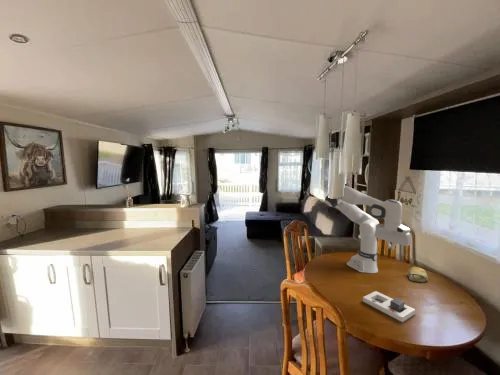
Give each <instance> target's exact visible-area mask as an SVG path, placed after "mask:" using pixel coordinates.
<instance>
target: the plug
mask: <svg viewBox="0 0 500 375" xmlns="http://www.w3.org/2000/svg"><path fill="white" fill-rule="evenodd" d="M392 299H393V300H391V302H390V308H391V309H393V310H395V311H397V312H399V313H401V312H402V311H404V304H405V303H406V302H405V301H403V300H402V299H399V298H397V297H395V298H392ZM405 305H406V304H405Z"/></svg>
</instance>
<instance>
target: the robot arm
mask: <svg viewBox="0 0 500 375" xmlns="http://www.w3.org/2000/svg"><path fill="white" fill-rule="evenodd" d="M328 195H329V194H327V195H326V196H325V198H324V202H325V204H326V205H327V206H328V207H330V208H337V209H338V210H339V211H340V213H341V214H343V215H345V216H346V217H347V218H348V219H349V220H350V221H351V222H353V223H355V224H357V225H359V228H358V230H359V234H360V249H358V250H357V253H356V254H354V255H352V256H351V257H350V260H349V261H347V263H346V266H349V267H350V268H352V269H354V270H356V271H358V272H359V273H367V274H376V273H378V272H379V268H378V263H377V259H378V251H377V250H378V239H379V240H383V241H386V244H387V248H388V249H390V250H395V246H396V245H397V244H398V245H401V246H405V247H409V246H411V244H412V234H411V233H410V232H411V228H409V227H408V226H406V225H404V224H402V222H403V221H402V216H403V205H402V202H401V201H399V200H397V199H391V198H388V199H387V200H385V201H383V200H380V199H378V198H375V197H373V196H370V195H369V194H368V195H367V194H366V193H363V192H361V191H359V190H357V189H355V188H352V187H351V186H350V185H349V184H348V183H346V184H345V188H344V196H343V198H342V199H330V198H328ZM358 205H366V206H368V207H369V213H370V214H368V213H367V212H365V211H363V210H362V209H361V208H359V207H358ZM378 219H384V224H381V223H380V222H379V220H378ZM391 244H392V245H391Z"/></svg>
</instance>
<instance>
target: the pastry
mask: <svg viewBox="0 0 500 375" xmlns="http://www.w3.org/2000/svg"><path fill="white" fill-rule="evenodd" d="M407 275H408V279H409V281H412V282H416V283H427V282H428V280H429V277H428V274H427V271H426V270H425V269H424V268H421V267H419V266H411V267H410V268H408V270H407Z"/></svg>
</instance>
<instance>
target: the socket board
mask: <svg viewBox="0 0 500 375" xmlns="http://www.w3.org/2000/svg"><path fill="white" fill-rule="evenodd" d="M393 299H394V298H391V297H390V296H387V295H385V294H383V293H382V292H379V291H377V290H375V291H372V292H371V293H368V294H367V295H365V296H362V303H364V304H366V305H368V306H370V307H372V308H374V309H375V310H378V311H379V312H380V313H382V314H385V315H386V316H389V317H390V318H392V319H394V320H396V321H398V322H400V323H402V324H403V323H405V322H406V321H408V320H409V319H411V318H412V317H414V316H415V315H416V309H415V308H413V307H411V306H409V305H406V304H404V311H402V312H401V313H399V312H397V311H395V310H393V309H391V308H390V302H391V300H393Z"/></svg>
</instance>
